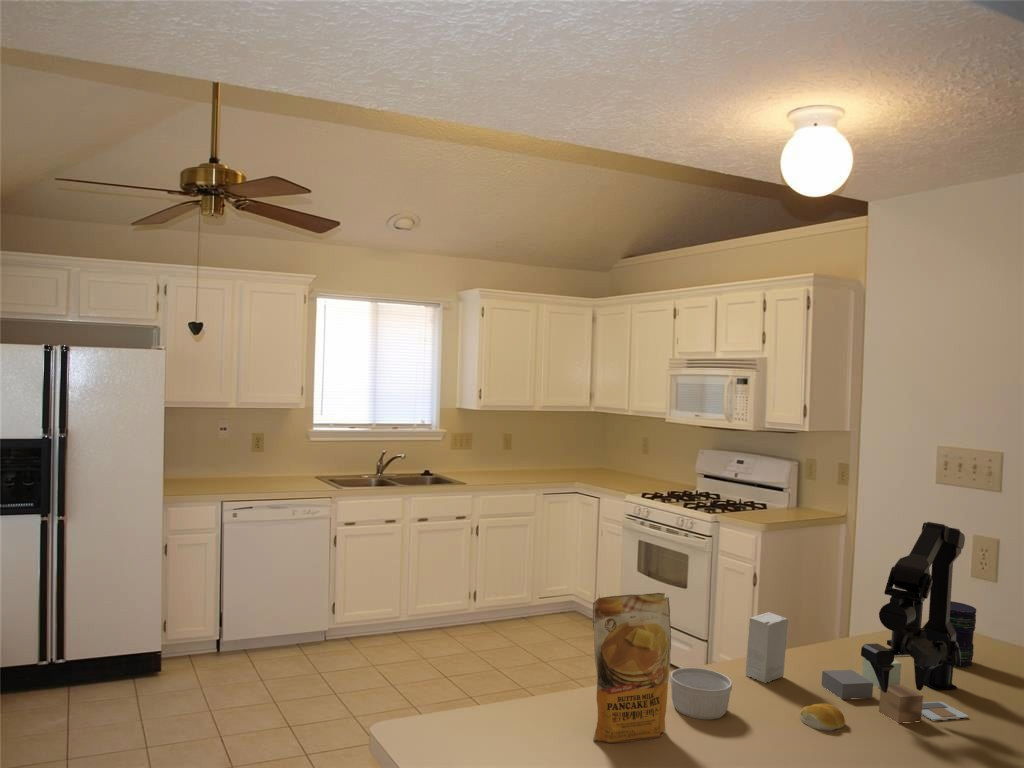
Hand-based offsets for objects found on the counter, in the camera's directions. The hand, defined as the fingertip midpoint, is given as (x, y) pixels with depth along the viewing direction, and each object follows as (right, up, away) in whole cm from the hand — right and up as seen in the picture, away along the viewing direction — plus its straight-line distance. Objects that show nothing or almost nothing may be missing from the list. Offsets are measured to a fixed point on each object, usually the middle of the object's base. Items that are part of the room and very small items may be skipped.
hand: (901, 690), depth 182 cm
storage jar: (+32, -7, +39) cm, 51 cm away
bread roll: (-20, -5, -5) cm, 21 cm away
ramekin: (-45, -3, -2) cm, 46 cm away
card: (+10, -6, +4) cm, 12 cm away
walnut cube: (0, -6, 0) cm, 6 cm away
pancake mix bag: (-63, -3, -17) cm, 65 cm away
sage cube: (+4, -6, +20) cm, 21 cm away
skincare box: (-24, -4, +19) cm, 31 cm away
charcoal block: (-7, -5, +13) cm, 15 cm away
